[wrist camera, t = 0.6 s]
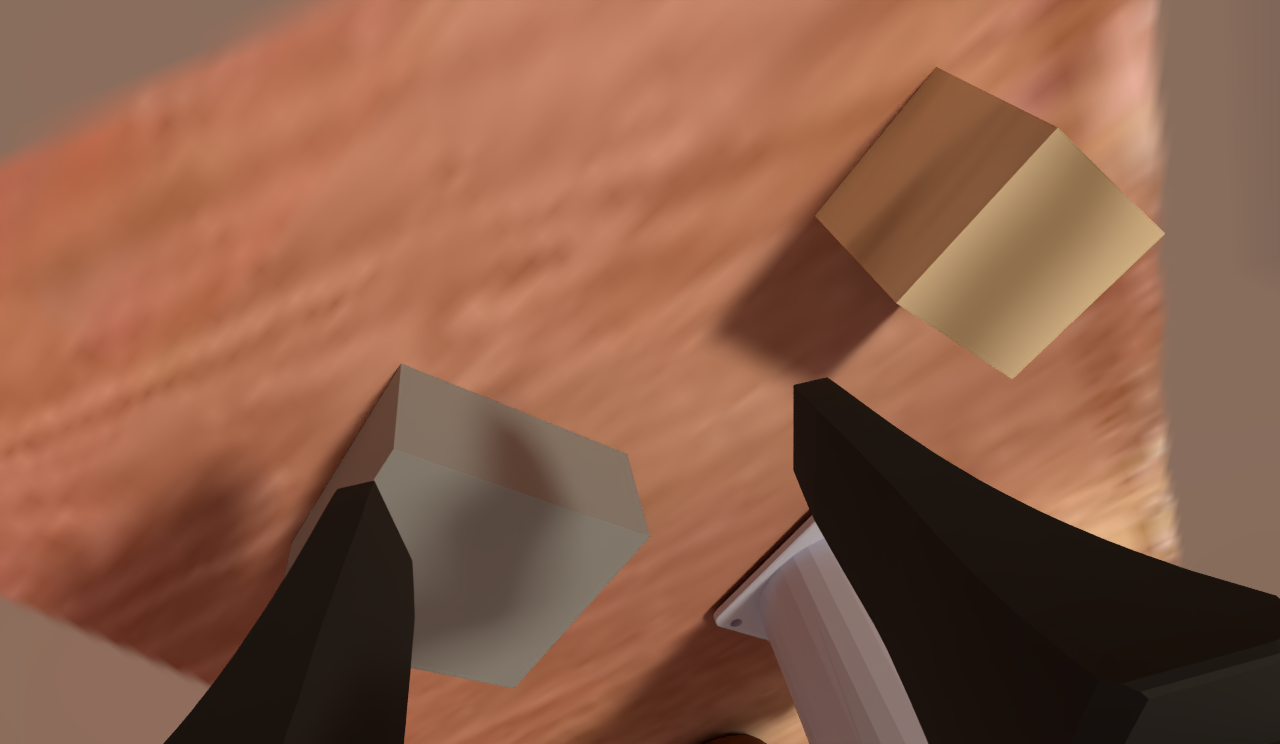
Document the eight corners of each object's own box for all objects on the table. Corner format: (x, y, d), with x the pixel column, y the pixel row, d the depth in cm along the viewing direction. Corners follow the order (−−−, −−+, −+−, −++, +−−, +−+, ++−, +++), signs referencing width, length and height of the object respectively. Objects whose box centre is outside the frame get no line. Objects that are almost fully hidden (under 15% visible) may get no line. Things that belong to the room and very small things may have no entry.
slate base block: (625, 448, 25) (650, 536, 22) (506, 592, 29) (514, 688, 25) (401, 357, 22) (393, 449, 19) (293, 535, 25) (270, 640, 22)
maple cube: (1035, 159, 22) (1165, 233, 18) (918, 286, 24) (1012, 379, 20) (934, 66, 20) (1057, 127, 16) (813, 214, 21) (896, 303, 17)
